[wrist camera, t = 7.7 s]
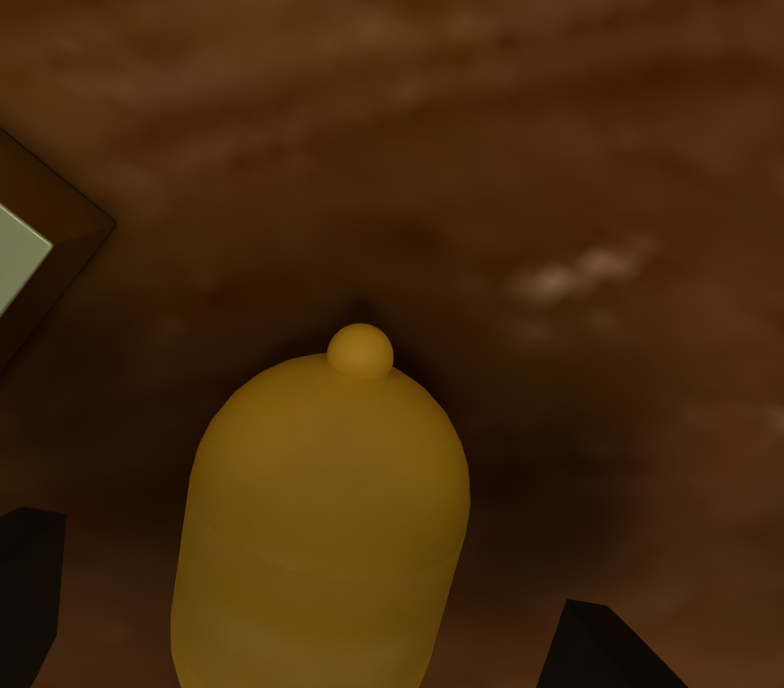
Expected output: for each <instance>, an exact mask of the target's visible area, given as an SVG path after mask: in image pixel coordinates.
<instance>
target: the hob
mask: <svg viewBox="0 0 784 688" xmlns="http://www.w3.org/2000/svg"><path fill="white" fill-rule="evenodd" d="M114 227H115V222H114V221H113V220H112V219H110V218H109V217H108V216H107V215H105V214H104V213H103V212H102V211H100V210H99V209H98V208H97V207H95V206H94V205H93V204H92V203H91V202H89V201H88V200H87V199H86V198H84V197H83V196H82V195H81V194H79V193H78V192H77V191H76V190H74V189H73V188H72V187H71V186H70V185H68V184H67V183H66V182H65V181H63V180H62V179H61V178H60V177H58V176H57V175H56V174H55V173H54V172H52V171H51V170H50V169H49V168H47V167H46V166H45V165H44V164H42V163H41V162H40V161H39V160H37V159H36V158H35V157H34V156H33V155H31V154H30V153H29V152H28V151H26V150H25V149H24V148H23V147H21V146H20V145H19V144H18V143H16V142H15V141H14V140H13V139H12V138H10V137H9V136H8V135H7V134H5V133H4V132H3V131H2V130H0V373H1V371H2V370H3V369H4V367H5V366H6V365H7V364H8V362H9V361H10V360H11V359H12V357H13V356H14V355H15V353H16V352H17V351H18V350H19V348H20V347H21V346H22V344H23V343H24V342H25V341H26V339H27V338H28V337H29V335H30V334H31V333H32V332H33V330H34V329H35V328H36V327H37V325H38V324H39V323H40V321H41V320H42V319H43V318H44V316H45V315H46V314H47V312H48V311H49V310H50V309H51V307H52V306H53V305H54V303H55V302H56V301H57V300H58V298H59V297H60V296H61V294H62V293H63V292H64V291H65V289H66V288H67V287H68V286H69V284H70V283H71V282H72V280H73V279H74V278H75V277H76V275H77V274H78V273H79V271H80V270H81V269H82V268H83V266H84V265H85V264H86V262H87V261H88V260H89V259H90V257H91V256H92V255H93V254H94V252H95V251H96V250H97V248H98V247H99V246H100V245H101V243H102V242H103V241H104V239H105V238H106V237H107V236H108V234H109V233H110V232H111V230H112V229H113V228H114Z"/></svg>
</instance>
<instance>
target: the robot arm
mask: <svg viewBox="0 0 784 688" xmlns="http://www.w3.org/2000/svg"><path fill="white" fill-rule="evenodd" d="M65 526H66V514H63V513H57V512H51V511H45V510H39V509H33V508H27V507H19V508H17V509H15V510H13V511H11V512H9V513H7V514H5V515H3V516H1V517H0V688H31V686H32V684H33V682H34V680H35V678H36V676H37V674H38V672H39V670H40V668H41V666H42V664H43V662H44V660H45V658H46V656H47V654H48V652H49V650H50V648H51V646H52V644H53V642H54V640H55V638H56V635H57V625H58V613H59V601H60V588H61V576H62V563H63V551H64V538H65ZM536 688H688V687H687V686H686V685H685V684H684V683H683V682H682V681H681V680H680V678H679V677H678V676H677V675H676V674H675V673H674V672H673V671H672V670H671V669H670V668H669V667H668V666H667V665H666V664H665V663H664V662H663V661H662V660H661V659H660V658H659V657H658V656H657V655H656V654H655V653H654V652H653V651H652V650H651V649H650V648H649V647H648V645H647V644H646V643H645V642H644V641H643V640H642V639H641V638H640V637H639V636H638V635H637V634H636V633H635V632H634V631H633V630H632V629H631V628H630V627H629V626H628V625H627V624H626V623H625V622H624V621H623V620H622V619H621V618H620V617H618V616H617V615H616V614H615V613H614V612H613V611H612V610H611V609H610V608H609V607H607V606H605V605H599V604H594V603H588V602H582V601H576V600H570V599H567V600H566V603H565V606H564V609H563V612H562V614H561V617H560V620H559V623H558V626H557V629H556V632H555V635H554V638H553V641H552V643H551V646H550V649H549V652H548V655H547V658H546V661H545V664H544V667H543V670H542V673H541V675H540V678H539V681H538V684H537V687H536Z"/></svg>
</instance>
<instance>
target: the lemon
mask: <svg viewBox="0 0 784 688" xmlns="http://www.w3.org/2000/svg"><path fill="white" fill-rule="evenodd" d="M393 359H394V354H393V348H392V345H391V343H390V341H389V339H388V337H387V336H386V335H385V334H384V333H383V332H382V331H381V330H379V329H378V328H376V327H374V326H372V325H369V324H364V323H357V324H351V325H348V326H346V327H344V328H342V329H341V330H340V331H338V332H337V333H336V334H335V335H334V337H333V338H332V340H331V341H330V344H329V346H328V350H327V353H320V354H314V355H309V356H303V357H298V358H293V359H290V360H287V361H284V362H282V363H280V364H278V365H275V366H273V367H271V368H269V369H267V370H265V371H263V372H261V373H259V374H258V375H256V376H255V377H253V378H252V379H251V380H249V381H248V382H247V383H245V384H244V385H243V386H242V387H240V388H239V389H238V390H236V391H235V392H234V393H233V395H232V396H231V397H230V398H229V399H228V401H227V402H226V403H225V404H224V405H223V407H222V408H221V409H220V410H219V411H218V413H217V414H216V415H215V416H214V417H213V419H212V420H211V422H210V424H209V426H208V428H207V430H206V432H205V433H204V435H203V437H202V439H201V441H200V444H199V447H198V450H197V453H196V456H195V460H194V464H193V468H192V472H191V475H190V479H189V488H188V495H187V502H186V509H185V516H184V523H183V530H182V537H181V545H180V552H179V559H178V566H177V573H176V580H175V587H174V594H173V602H172V609H171V654H172V657H173V661H174V665H175V669H176V672H177V676H178V679H179V682H180V686H181V688H419V686H420V684H421V682H422V679H423V677H424V674H425V672H426V670H427V667H428V664H429V661H430V659H431V655H432V652H433V648H434V645H435V641H436V637H437V634H438V630H439V627H440V623H441V620H442V616H443V613H444V609H445V605H446V602H447V598H448V595H449V591H450V588H451V584H452V581H453V577H454V573H455V570H456V566H457V563H458V559H459V556H460V552H461V548H462V545H463V541H464V538H465V534H466V529H467V523H468V517H469V511H470V505H471V502H470V485H469V470H468V464H467V461H466V457H465V453H464V450H463V446H462V443H461V441H460V439H459V437H458V434H457V432H456V431H455V429H454V427H453V425H452V423H451V421H450V419H449V418H448V416H447V414H446V412H445V411H444V410H443V409H442V408H441V406H440V405H439V404H438V403H437V402H436V401H435V400H434V398H433V397H432V396H431V395H430V394H429V393H428V392H427V391H426V389H425V388H424V387H422V386H421V385H420V384H418V383H417V382H416V381H414V380H413V379H411V378H410V377H408V376H407V375H405V374H404V373H403V372H401V371H399V370H398V369H396V368H394V367H392V365H393Z"/></svg>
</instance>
